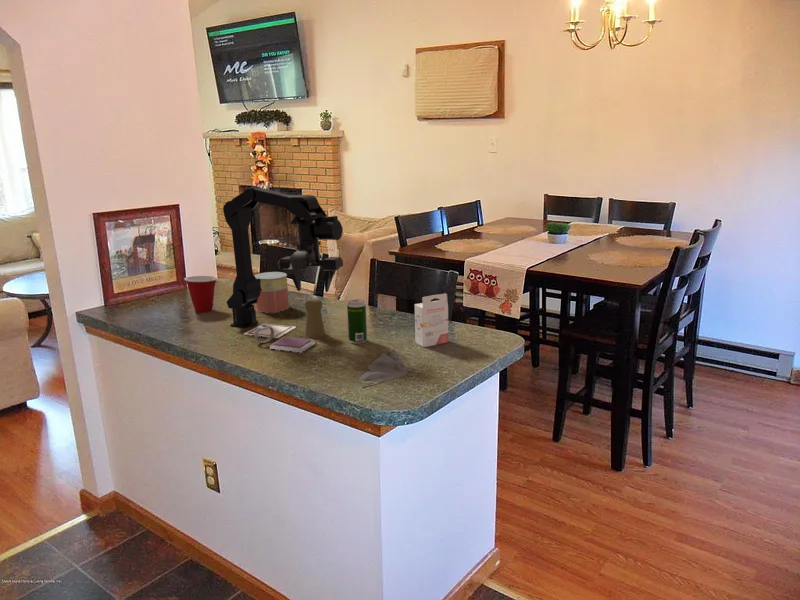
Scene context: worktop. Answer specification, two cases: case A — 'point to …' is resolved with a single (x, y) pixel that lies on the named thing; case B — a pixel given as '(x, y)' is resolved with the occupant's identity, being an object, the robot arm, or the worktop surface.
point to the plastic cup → (201, 292)
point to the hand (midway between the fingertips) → (312, 291)
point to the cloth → (384, 369)
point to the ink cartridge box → (431, 321)
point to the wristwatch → (263, 329)
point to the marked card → (278, 331)
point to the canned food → (273, 292)
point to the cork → (314, 319)
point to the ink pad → (292, 344)
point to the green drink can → (357, 321)
